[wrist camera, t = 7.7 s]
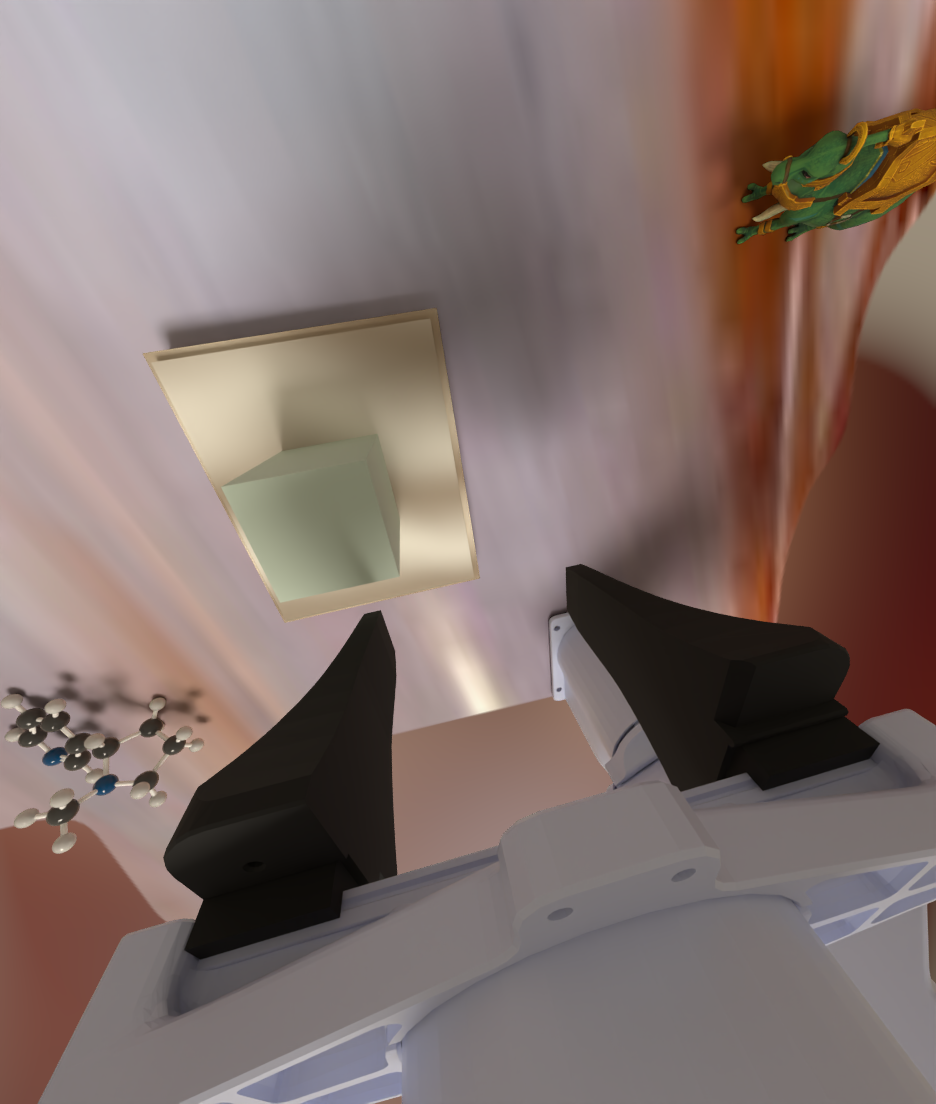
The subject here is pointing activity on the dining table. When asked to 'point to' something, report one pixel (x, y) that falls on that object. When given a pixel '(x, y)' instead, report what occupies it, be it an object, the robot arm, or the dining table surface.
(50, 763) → the molecule model
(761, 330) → the dining table surface
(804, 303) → the dining table surface
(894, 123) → the figurine
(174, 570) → the dining table surface
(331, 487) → the sage block
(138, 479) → the dining table surface
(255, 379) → the birch base
